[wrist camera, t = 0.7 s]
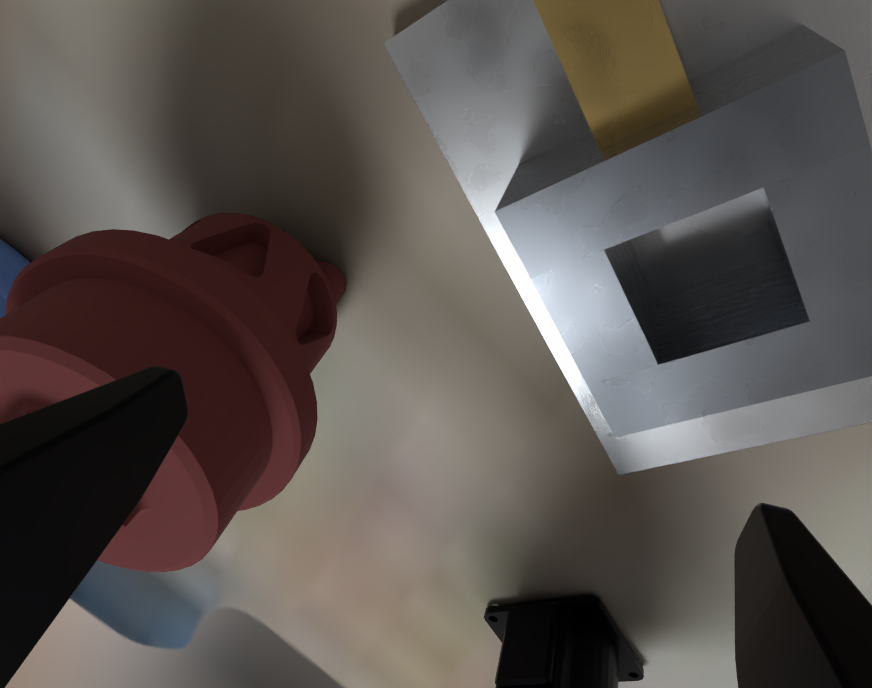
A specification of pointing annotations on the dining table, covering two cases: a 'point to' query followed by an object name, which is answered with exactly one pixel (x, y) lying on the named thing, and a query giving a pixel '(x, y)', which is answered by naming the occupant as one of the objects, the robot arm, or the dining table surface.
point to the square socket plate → (671, 203)
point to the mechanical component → (182, 362)
